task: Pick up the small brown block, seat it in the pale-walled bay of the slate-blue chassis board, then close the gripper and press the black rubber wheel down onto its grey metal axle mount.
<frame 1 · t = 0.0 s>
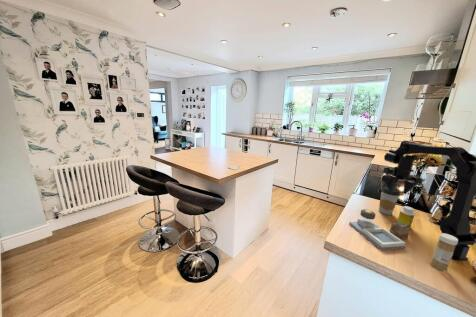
hand: (397, 193, 103), 15 cm above the counter, fingers open, 9 cm apart
supplement bottle: (403, 225, 100), on the counter
wheel: (367, 213, 95), point 8 cm above the counter, slide at 0.0 cm
sprinkles bottle: (438, 267, 73), on the counter
chassis: (374, 234, 91), on the counter
brown block: (398, 235, 92), on the counter
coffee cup: (385, 212, 113), on the counter
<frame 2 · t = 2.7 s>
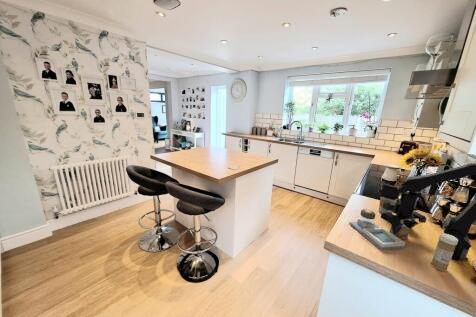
hand: (398, 233, 91), 1 cm above the counter, fingers closed on brown block, 4 cm apart
brown block: (398, 235, 92), on the counter, touching gripper
everything else where it was.
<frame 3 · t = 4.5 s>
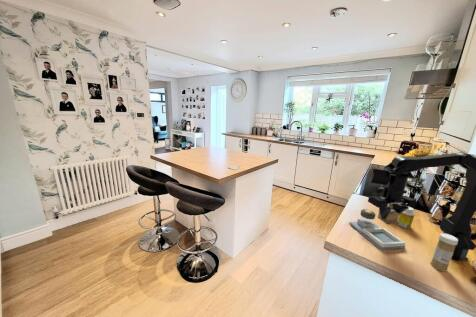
hand: (387, 218, 84), 11 cm above the counter, fingers closed on brown block, 4 cm apart
brown block: (386, 220, 85), point 10 cm above the counter, touching gripper
everything else where it was.
when the fingers open (3 cm above the counter, at t = 6.3 s): brown block stays where it is, resting on chassis.
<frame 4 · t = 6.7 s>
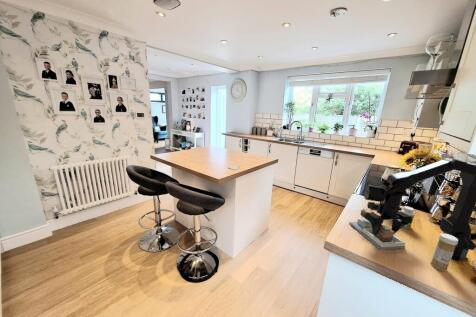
hand: (383, 234, 86), 3 cm above the counter, fingers open, 9 cm apart
brown block: (382, 238, 87), point 1 cm above the counter, touching chassis
everything else where it was.
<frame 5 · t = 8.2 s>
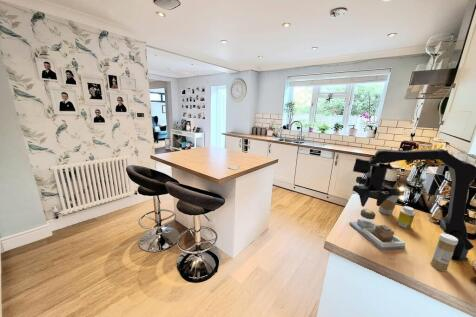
hand: (370, 206, 93), 12 cm above the counter, fingers open, 8 cm apart
nothing on the counter moved.
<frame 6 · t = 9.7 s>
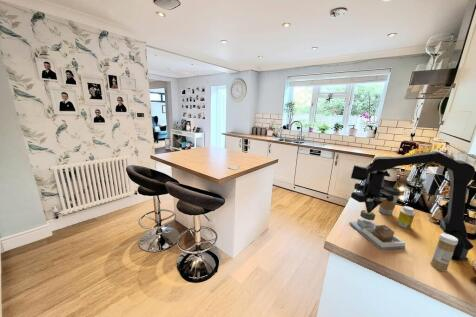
hand: (368, 212, 94), 9 cm above the counter, fingers closed, pressing on wheel
wheel: (367, 214, 95), point 7 cm above the counter, slide at -0.4 cm, touching gripper
everything else where it was.
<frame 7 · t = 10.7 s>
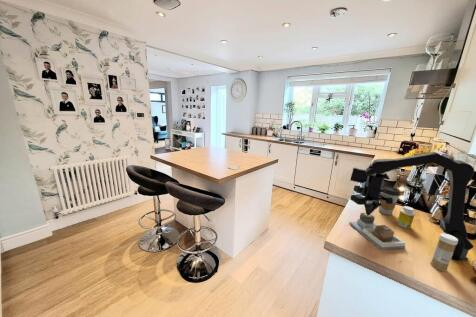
hand: (367, 214, 95), 7 cm above the counter, fingers closed
wheel: (367, 217, 95), point 6 cm above the counter, slide at -1.9 cm
everything else where it was.
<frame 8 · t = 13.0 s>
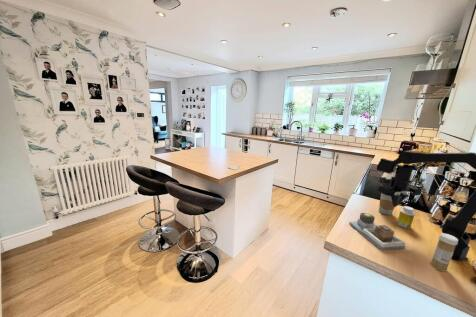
hand: (394, 206, 94), 12 cm above the counter, fingers closed
nothing on the counter moved.
at the end: brown block inside the target area on the chassis (0.1 cm from its centre), point 1.2 cm above the chassis's base; brown block tilted 0°; wheel slide at -1.9 cm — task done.
